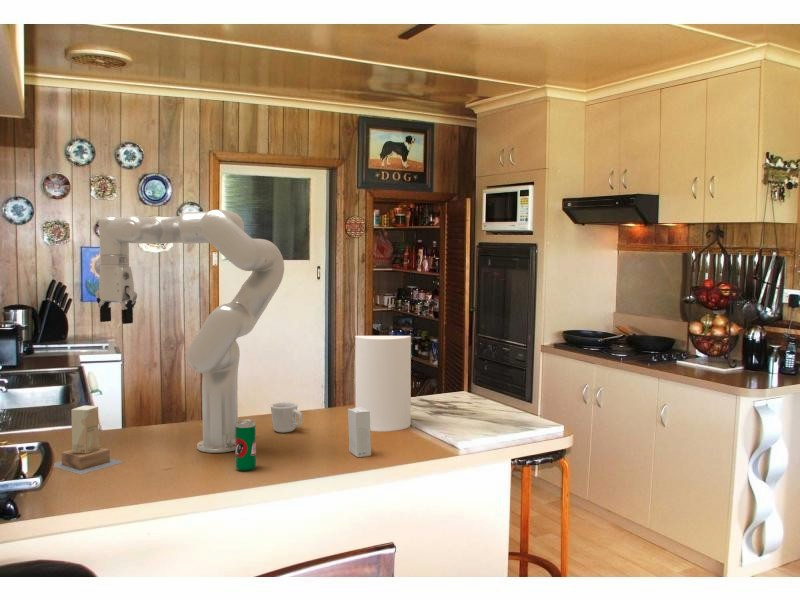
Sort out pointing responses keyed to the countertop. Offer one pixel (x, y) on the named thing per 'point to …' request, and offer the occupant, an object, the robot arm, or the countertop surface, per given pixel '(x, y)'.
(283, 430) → the cup
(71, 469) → the slate mat
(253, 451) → the soda can
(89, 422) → the box
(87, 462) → the walnut plinth
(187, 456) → the countertop surface
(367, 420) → the skincare box
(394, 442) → the countertop surface
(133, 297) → the robot arm
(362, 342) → the cylinder
